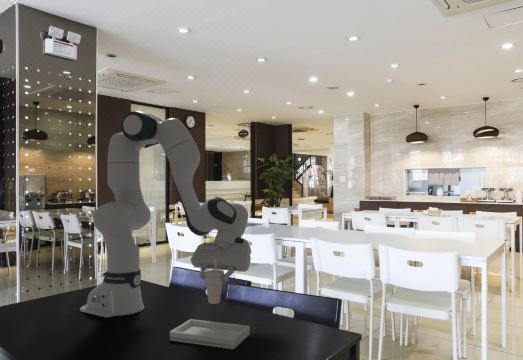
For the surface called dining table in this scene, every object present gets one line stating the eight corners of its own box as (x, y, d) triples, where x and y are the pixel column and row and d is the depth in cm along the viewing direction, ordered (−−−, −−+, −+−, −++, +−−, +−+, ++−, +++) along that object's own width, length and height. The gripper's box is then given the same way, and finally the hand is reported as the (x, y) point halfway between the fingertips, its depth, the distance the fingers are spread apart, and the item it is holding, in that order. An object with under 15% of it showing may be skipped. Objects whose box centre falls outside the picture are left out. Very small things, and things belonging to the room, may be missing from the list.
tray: (169, 340, 120) (169, 331, 120) (190, 327, 132) (190, 319, 132) (233, 349, 114) (233, 339, 114) (249, 334, 125) (249, 326, 125)
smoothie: (220, 305, 131) (220, 261, 131) (201, 304, 132) (201, 260, 132) (226, 299, 137) (226, 257, 137) (207, 298, 139) (207, 256, 138)
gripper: (196, 237, 145) (181, 270, 136) (251, 240, 138) (239, 276, 129) (202, 248, 149) (188, 281, 140) (255, 252, 142) (244, 287, 133)
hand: (213, 279), depth 134 cm, fingers closed on smoothie, 6 cm apart
